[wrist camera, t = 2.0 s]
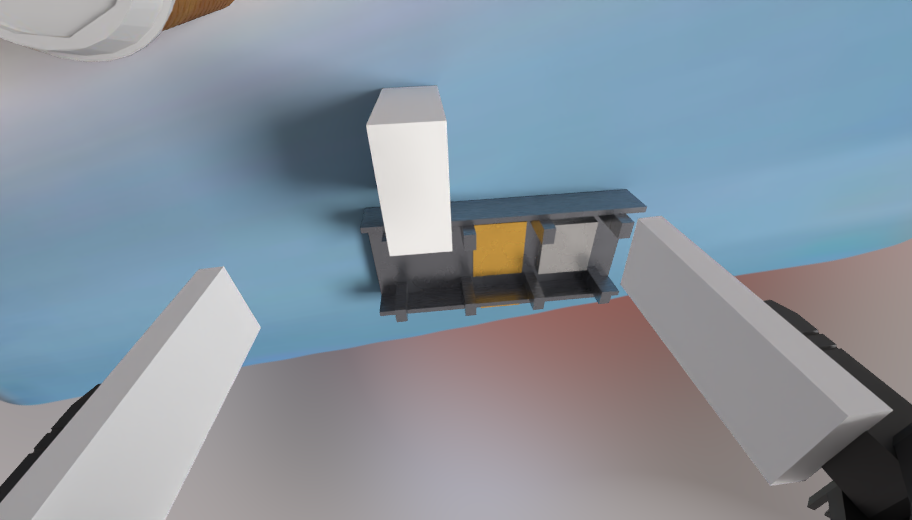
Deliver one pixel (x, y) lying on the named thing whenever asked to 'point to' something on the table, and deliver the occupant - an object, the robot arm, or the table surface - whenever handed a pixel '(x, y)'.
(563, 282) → the rack
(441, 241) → the white box
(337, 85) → the table surface
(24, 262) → the table surface
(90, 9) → the disposable coffee cup
